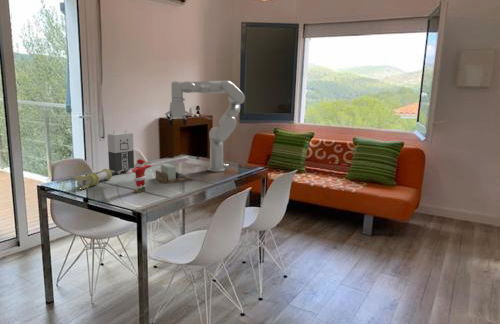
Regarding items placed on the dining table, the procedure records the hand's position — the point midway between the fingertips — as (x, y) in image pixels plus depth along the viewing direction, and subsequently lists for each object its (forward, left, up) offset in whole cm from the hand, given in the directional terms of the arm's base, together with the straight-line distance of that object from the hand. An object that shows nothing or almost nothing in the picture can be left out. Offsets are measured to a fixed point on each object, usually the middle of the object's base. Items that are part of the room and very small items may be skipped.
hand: (177, 125), depth 255 cm
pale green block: (+13, +16, -32) cm, 38 cm away
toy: (+34, -18, -33) cm, 51 cm away
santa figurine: (+37, +35, -33) cm, 61 cm away
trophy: (+57, +8, -34) cm, 67 cm away
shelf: (+10, +16, -33) cm, 38 cm away
